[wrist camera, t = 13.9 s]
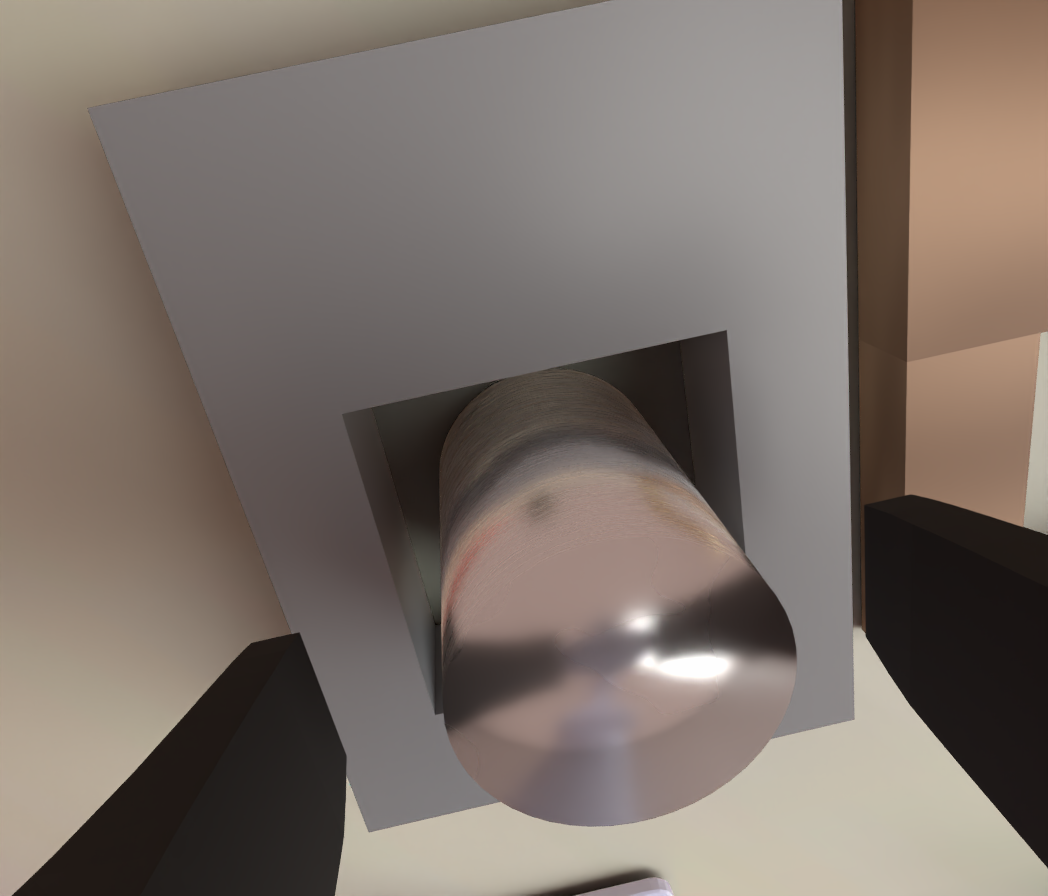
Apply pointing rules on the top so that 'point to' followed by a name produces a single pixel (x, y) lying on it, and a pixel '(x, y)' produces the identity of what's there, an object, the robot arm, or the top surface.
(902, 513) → the robot arm
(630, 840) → the top surface
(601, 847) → the top surface
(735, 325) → the frame
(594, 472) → the peg
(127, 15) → the top surface
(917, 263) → the socket board
